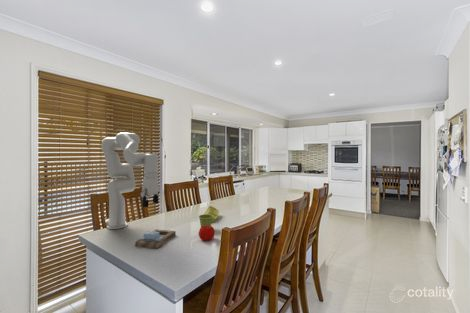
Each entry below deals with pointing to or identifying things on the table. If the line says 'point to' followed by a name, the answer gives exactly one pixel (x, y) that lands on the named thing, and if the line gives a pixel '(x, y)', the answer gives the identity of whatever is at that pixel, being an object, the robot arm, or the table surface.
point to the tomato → (206, 232)
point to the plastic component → (212, 212)
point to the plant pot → (205, 219)
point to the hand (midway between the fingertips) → (150, 204)
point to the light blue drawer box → (151, 236)
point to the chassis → (149, 244)
